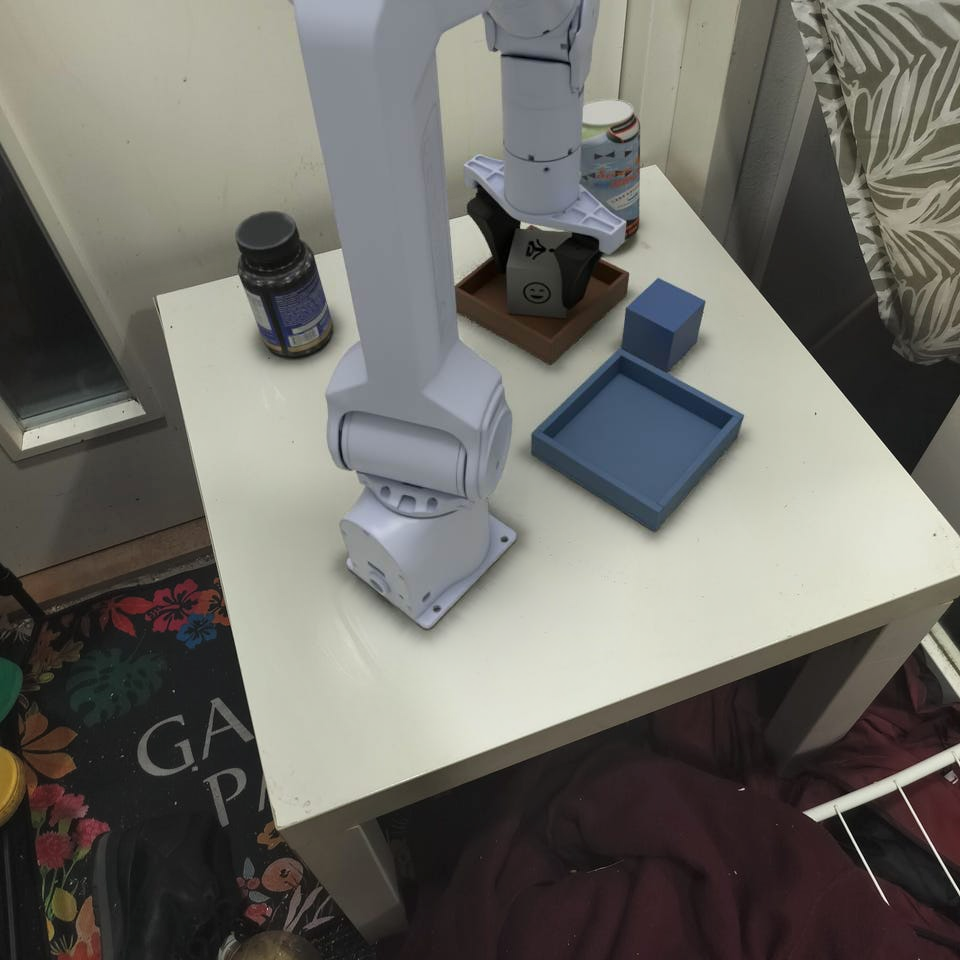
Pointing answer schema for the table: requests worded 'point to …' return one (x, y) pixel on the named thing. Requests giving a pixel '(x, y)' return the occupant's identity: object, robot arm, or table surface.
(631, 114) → the beverage can
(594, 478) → the blue tray
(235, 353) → the table surface
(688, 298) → the blue block
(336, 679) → the table surface
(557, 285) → the dice cube
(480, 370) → the robot arm
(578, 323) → the walnut tray
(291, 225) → the pill bottle
